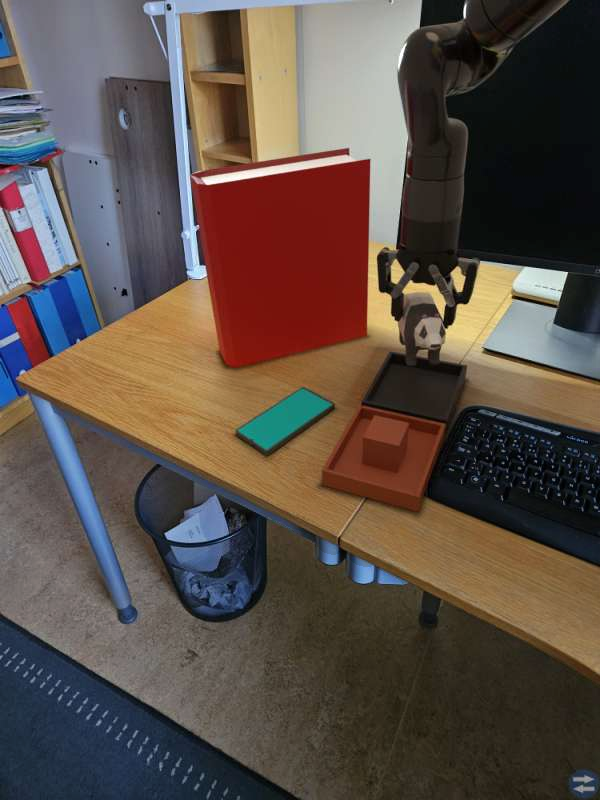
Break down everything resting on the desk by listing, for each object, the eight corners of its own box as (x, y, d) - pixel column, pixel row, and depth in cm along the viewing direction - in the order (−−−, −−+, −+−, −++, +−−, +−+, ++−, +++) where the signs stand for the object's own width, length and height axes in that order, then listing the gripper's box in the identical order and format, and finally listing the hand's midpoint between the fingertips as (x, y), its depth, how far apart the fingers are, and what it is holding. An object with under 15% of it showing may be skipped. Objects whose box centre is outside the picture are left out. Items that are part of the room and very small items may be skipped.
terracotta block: (407, 449, 80) (409, 422, 77) (397, 473, 76) (399, 445, 73) (373, 441, 81) (374, 414, 78) (362, 464, 78) (362, 437, 75)
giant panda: (394, 334, 91) (397, 280, 85) (428, 332, 91) (433, 277, 85) (412, 386, 79) (416, 328, 73) (451, 384, 79) (458, 325, 73)
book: (349, 316, 113) (349, 147, 93) (366, 335, 107) (370, 158, 87) (218, 347, 106) (188, 172, 87) (228, 369, 100) (199, 186, 80)
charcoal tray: (465, 379, 94) (467, 365, 92) (445, 434, 83) (447, 420, 81) (389, 364, 98) (389, 351, 97) (360, 415, 88) (361, 401, 86)
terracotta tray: (444, 438, 82) (446, 423, 81) (417, 512, 72) (419, 497, 70) (359, 418, 87) (359, 404, 85) (322, 485, 76) (321, 470, 74)
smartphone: (335, 403, 89) (266, 452, 81) (335, 407, 89) (267, 456, 81) (302, 386, 93) (233, 430, 85) (302, 390, 94) (234, 434, 85)
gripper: (494, 204, 72) (476, 318, 82) (386, 195, 77) (382, 303, 87) (484, 224, 67) (466, 343, 77) (369, 214, 72) (367, 326, 82)
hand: (421, 322), depth 82 cm, fingers closed on giant panda, 6 cm apart
